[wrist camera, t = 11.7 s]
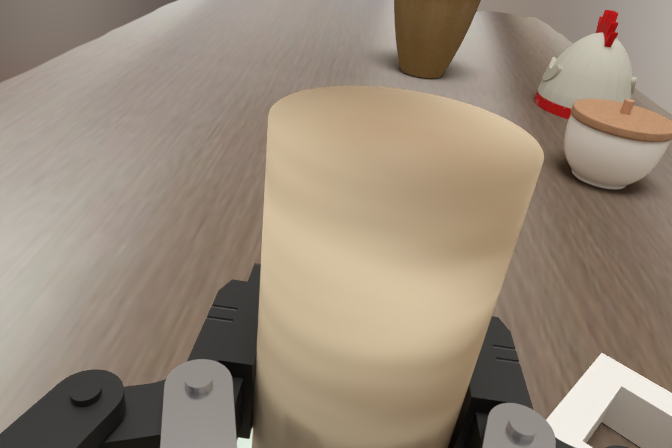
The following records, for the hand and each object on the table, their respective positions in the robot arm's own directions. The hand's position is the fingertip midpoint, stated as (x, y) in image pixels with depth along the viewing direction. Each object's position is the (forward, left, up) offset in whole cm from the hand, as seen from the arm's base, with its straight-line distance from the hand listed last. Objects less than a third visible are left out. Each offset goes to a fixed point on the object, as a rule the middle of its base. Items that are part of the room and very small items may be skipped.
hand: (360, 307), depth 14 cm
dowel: (-2, -2, -9) cm, 9 cm away
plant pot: (+71, +47, -15) cm, 87 cm away
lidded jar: (+55, +9, -15) cm, 58 cm away
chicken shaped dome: (+80, +22, -15) cm, 84 cm away
